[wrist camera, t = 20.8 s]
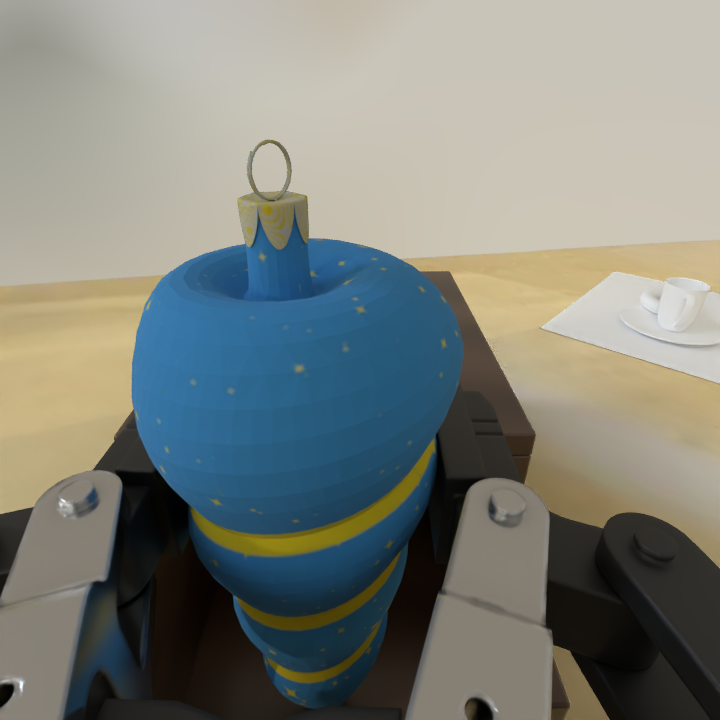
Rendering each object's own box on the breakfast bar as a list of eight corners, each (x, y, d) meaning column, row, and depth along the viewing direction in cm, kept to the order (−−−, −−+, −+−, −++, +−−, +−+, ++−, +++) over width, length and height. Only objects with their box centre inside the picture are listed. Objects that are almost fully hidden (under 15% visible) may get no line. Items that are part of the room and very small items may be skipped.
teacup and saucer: (635, 300, 45) (648, 259, 43) (734, 324, 40) (754, 279, 38) (605, 329, 39) (618, 284, 37) (715, 361, 35) (738, 311, 33)
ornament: (446, 683, 14) (544, 136, 6) (343, 892, 10) (297, 185, 3) (315, 591, 16) (278, 125, 9) (197, 731, 13) (-31, 143, 5)
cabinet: (494, 607, 18) (537, 434, 14) (172, 609, 18) (111, 437, 14) (437, 395, 31) (450, 270, 26) (248, 396, 31) (229, 271, 26)
